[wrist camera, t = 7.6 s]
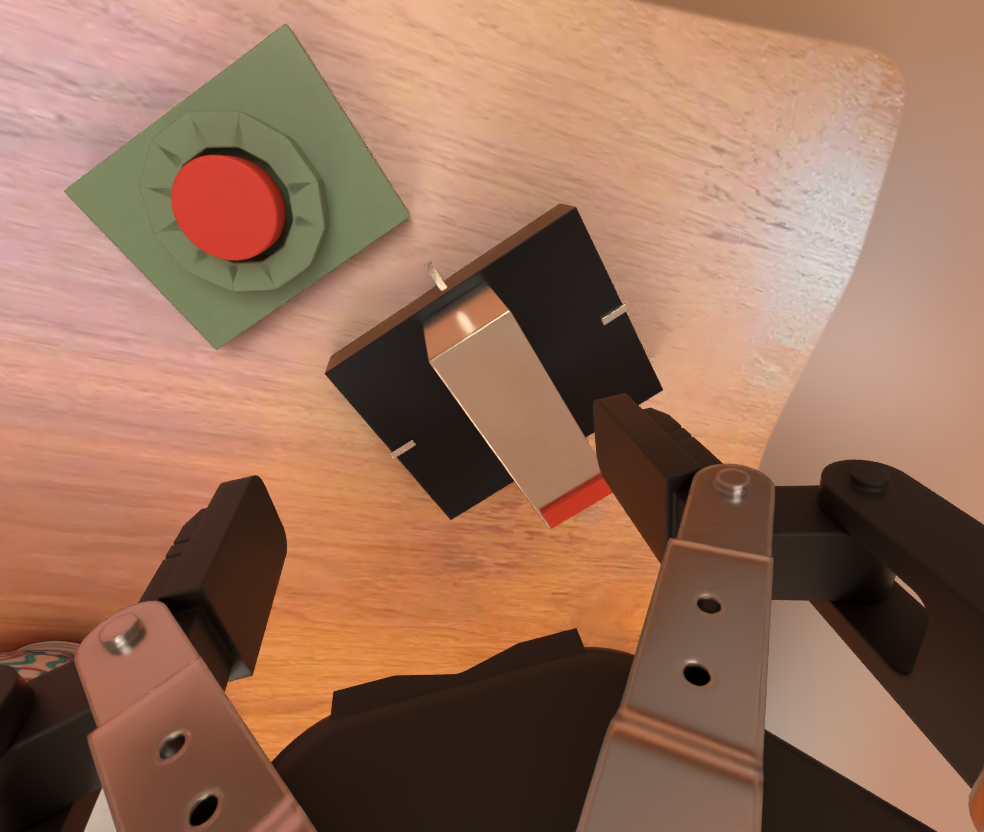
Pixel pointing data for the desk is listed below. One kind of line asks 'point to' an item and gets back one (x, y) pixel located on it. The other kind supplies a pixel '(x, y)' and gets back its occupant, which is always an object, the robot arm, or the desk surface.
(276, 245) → the green rectangular block
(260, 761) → the robot arm
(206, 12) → the desk surface
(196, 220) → the button
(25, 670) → the chinaware
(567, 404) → the black flat square plate
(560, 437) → the silver metal block
